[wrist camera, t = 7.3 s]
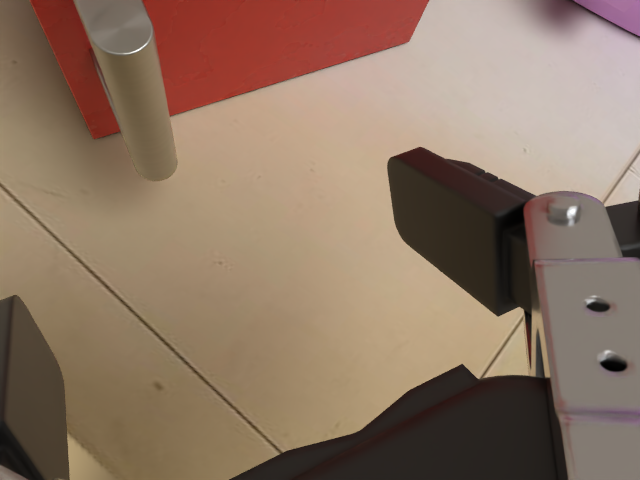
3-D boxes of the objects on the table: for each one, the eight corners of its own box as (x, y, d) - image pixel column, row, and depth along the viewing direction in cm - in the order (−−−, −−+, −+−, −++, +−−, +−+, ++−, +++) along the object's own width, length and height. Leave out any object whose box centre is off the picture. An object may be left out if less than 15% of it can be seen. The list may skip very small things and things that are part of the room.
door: (453, 121, 31) (683, -180, 15) (132, 238, 26) (-1, -27, 11) (403, 30, 32) (567, -331, 17) (88, 126, 27) (-87, -255, 12)
